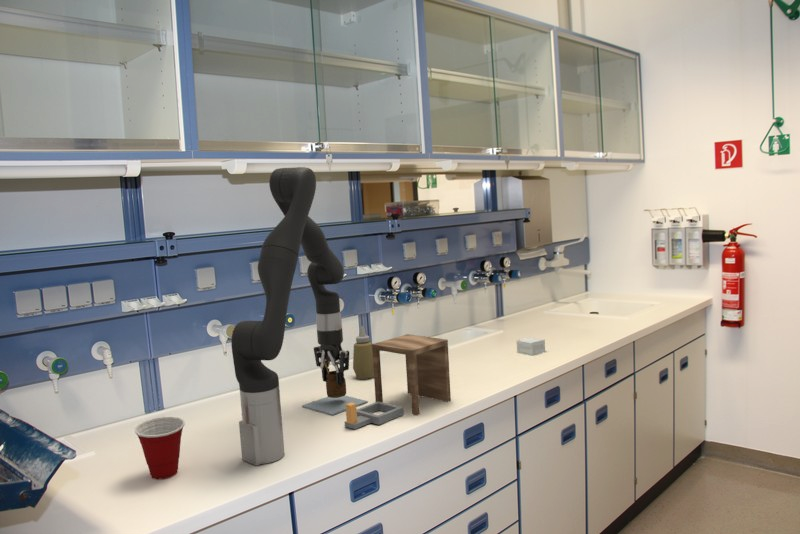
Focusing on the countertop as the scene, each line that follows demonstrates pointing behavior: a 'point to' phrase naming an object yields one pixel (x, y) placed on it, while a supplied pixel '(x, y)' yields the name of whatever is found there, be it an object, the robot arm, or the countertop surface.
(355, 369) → the squeeze bottle
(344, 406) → the slate mat
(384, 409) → the sliding frame
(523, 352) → the small box
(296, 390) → the countertop surface
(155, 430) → the plastic cup
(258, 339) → the robot arm
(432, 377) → the walnut shelf
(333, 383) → the utensil holder
